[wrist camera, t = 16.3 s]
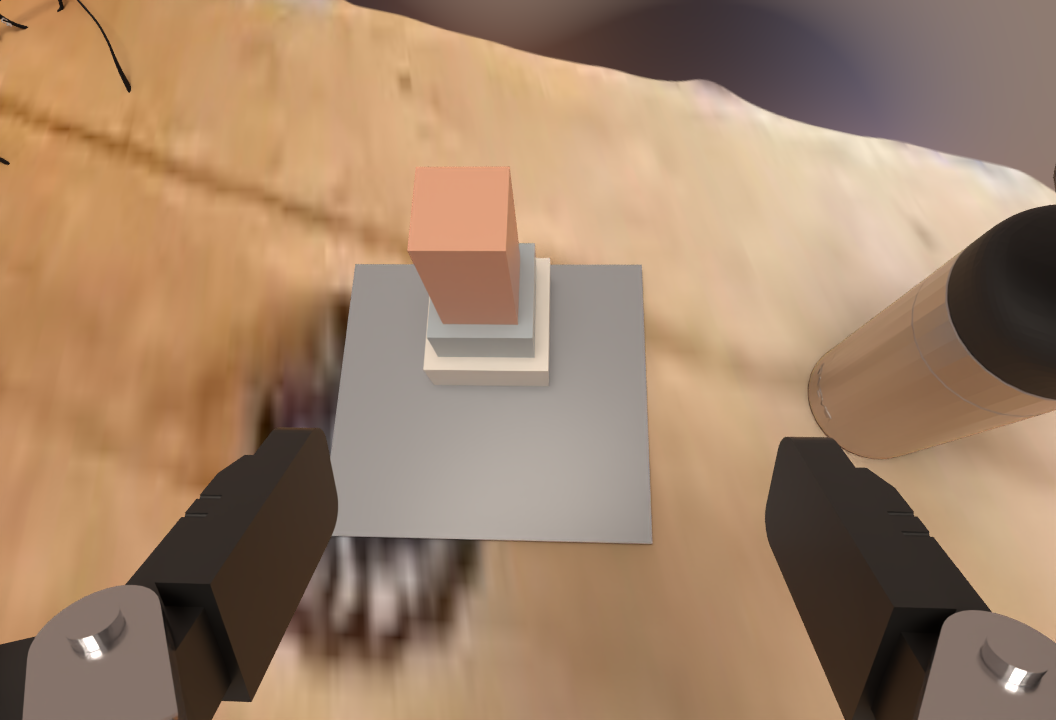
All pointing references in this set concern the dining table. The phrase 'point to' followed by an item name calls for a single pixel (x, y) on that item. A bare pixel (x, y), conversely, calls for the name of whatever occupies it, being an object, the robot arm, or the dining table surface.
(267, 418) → the dining table surface
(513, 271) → the terracotta brick
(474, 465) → the baseplate
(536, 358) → the tower base
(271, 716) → the dining table surface
